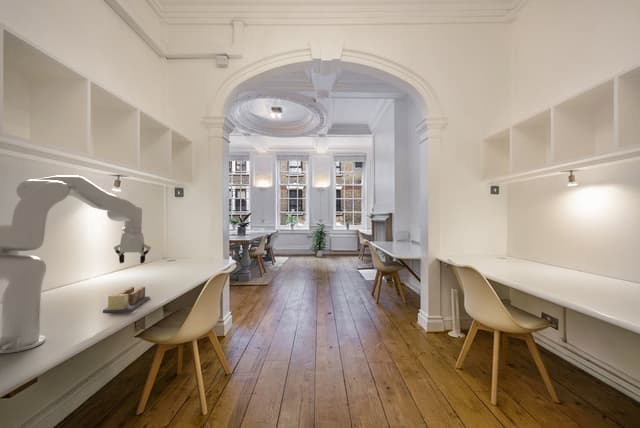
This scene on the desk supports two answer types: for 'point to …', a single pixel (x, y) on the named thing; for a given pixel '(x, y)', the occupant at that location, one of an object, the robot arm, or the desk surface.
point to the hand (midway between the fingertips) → (132, 262)
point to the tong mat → (130, 305)
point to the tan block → (117, 301)
